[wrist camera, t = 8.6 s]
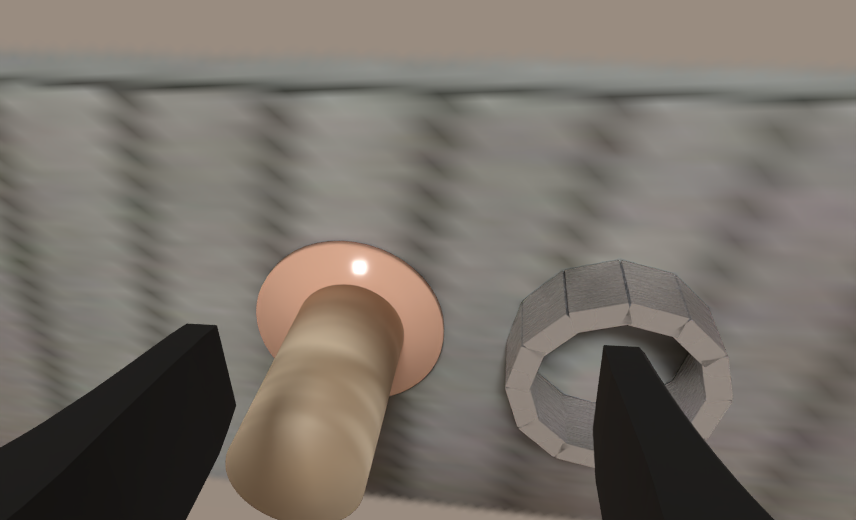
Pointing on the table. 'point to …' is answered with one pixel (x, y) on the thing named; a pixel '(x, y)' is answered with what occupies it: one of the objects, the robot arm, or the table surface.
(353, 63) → the table surface
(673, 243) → the table surface
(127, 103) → the table surface
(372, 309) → the peg
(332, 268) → the coaster
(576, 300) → the collar
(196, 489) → the robot arm
